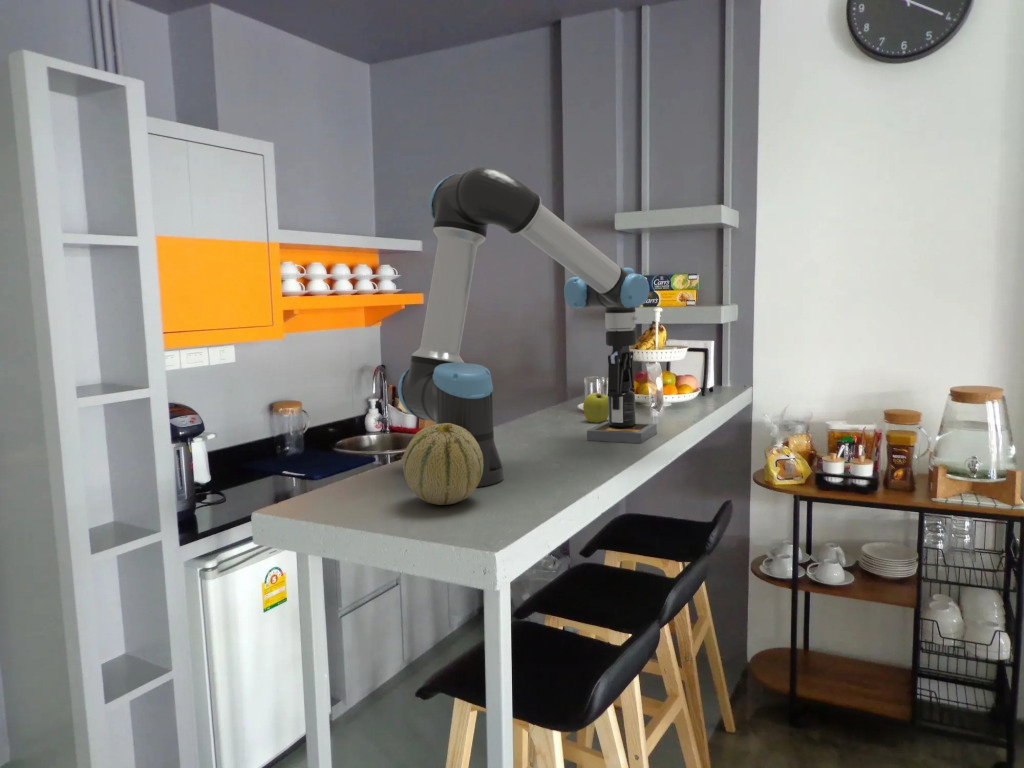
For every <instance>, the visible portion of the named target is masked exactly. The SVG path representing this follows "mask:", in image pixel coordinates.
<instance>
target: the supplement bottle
mask: <svg viewBox="0 0 1024 768" xmlns="http://www.w3.org/2000/svg"><path fill="white" fill-rule="evenodd" d="M630 388H631V382H630V381H628V380H622V391H621V397H623V422H622V423H617V422H612V407H611V397H608V410H609V416H608V422H609V427H610V428H611V429H632V428H634V427H635V426H636V423H637V422H636V420H637V419H636V394H635V392H632V391H630Z"/></svg>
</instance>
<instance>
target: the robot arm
mask: <svg viewBox="0 0 1024 768" xmlns="http://www.w3.org/2000/svg"><path fill="white" fill-rule="evenodd" d="M428 208H429V212H430V213H429V214H430V216H432V219H433V227H432V232H433V233H434V235H435V236H436V237H437V245H436V246H437V247H436V252H435V259H434V264H433V271H432V276H431V283H430V287H429V294H428V300H427V307H426V311H425V317H424V324H423V329H422V335H421V342H420V346H419V348H418V349H417V350H416V351H414V352H413V353H412V354H411V358H410V362H409V363H410V364H409V367H408V368H407V369H406V370H405V371H404V372H403V373H402V375H401V376H400V378H399V381H398V385H397V394H398V398H399V401H400V404H401V406H402V407H403V408H404V410H405V411H407V412H408V413H409V414H410V415H412V416H413V417H415V418H418V419H420V420H422V421H431V422H434V423H435V424H442V423H451V424H454V425H457V426H460V427H462V428H464V429H466V430H467V431H469V432H470V433H471V434H472V435H473V437H474V438H475V440H476V441H477V443H478V444H479V446H480V449H481V451H482V454H483V464H484V466H483V473H482V477H481V480H480V482H479V484H478V486H477V487H476V488H480V487H487V486H490V485H491V486H492V485H494V484H498V483H500V482H502V480H504V478H505V474H504V473H505V472H504V471H505V470H504V465H503V461H502V460H501V456H500V454H499V452H498V448H497V446H496V443H495V436H494V435H495V434H494V432H495V431H494V404H493V401H494V400H493V399H494V398H493V391H494V386H493V380H492V374H491V371H490V370H489V369H488V368H487V367H486V366H484V365H480V364H477V363H472V362H471V363H468V362H465V361H464V360H463V359H462V357H461V356H460V352H461V346H462V340H463V333H464V327H465V324H466V323H465V322H466V317H467V311H468V303H469V299H470V293H471V287H472V280H473V276H474V275H473V273H474V269H475V262H476V255H477V251H478V246H479V247H480V246H481V245H482V244H483V243H484V242H485V241H486V240H487V239H486V238H487V233H488V228H489V227H488V226H489V225H494V226H498V227H501V228H503V229H505V230H506V231H508V233H510V234H512V235H518V234H519V235H521V237H523V238H525V240H528V241H530V242H531V244H533V245H534V246H536V247H537V248H538V249H540V250H541V251H543V253H545V254H547V255H548V256H549V257H551V258H552V259H553V260H555V261H556V262H557V263H558V264H560V265H561V266H563V268H565V269H566V270H568V271H569V272H571V274H573V275H575V276H573V277H570V278H568V280H566V283H565V284H564V288H563V291H564V293H563V294H564V295H563V297H564V300H565V302H566V304H567V305H568V306H569V307H571V308H573V309H585V308H586V309H588V308H593V309H594V308H595V309H596V308H598V309H599V308H604V310H605V314H604V317H605V318H604V320H605V322H604V323H605V327H604V328H605V329H607V331H606V332H605V345H606V346H608V347H612V352H611V354H608V355H607V363H608V373H607V374H608V375H607V376H608V377H607V381H608V382H607V396H608V397H611V407H612V422H617V423H622V422H623V397H621V391H622V380H628V381H630V382H631V388H630V391H632V392H633V393H635V392H636V389H635V373H634V371H635V369H634V356H635V355H634V354H635V353H634V351H633V350H632V351H631V350H630V347H631V346H635V345H636V344H637V333H636V330H635V328H636V321H637V320H638V316H636V308H637V307H638V308H639V307H640V306H642V305H644V304H645V302H647V300H648V298H649V295H650V284H649V282H648V280H647V278H646V277H645V276H644V275H643V274H640V273H635V270H634V269H633V268H631V267H620V266H619V265H618V264H616V262H614V261H613V260H612V259H611V258H609V257H608V256H607V255H606V254H604V253H603V252H601V251H600V250H599V249H598V248H597V247H595V246H594V245H593V244H592V243H590V242H589V241H588V240H586V239H585V237H583V236H581V235H580V233H578V232H577V231H576V230H574V229H573V228H572V227H571V226H569V225H568V224H567V223H565V221H563V220H562V219H561V218H559V217H558V215H556V214H554V213H553V212H552V211H551V210H549V209H548V208H547V207H546V206H544V205H543V203H542V198H541V196H540V195H539V194H538V193H536V192H535V191H534V190H532V189H531V188H530V187H529V186H528V185H526V184H525V183H523V182H522V181H520V180H519V179H518V178H516V177H514V176H513V175H512V174H509V173H508V172H505V171H503V170H501V169H498V168H496V167H491V166H478V167H475V168H472V169H469V170H467V171H463V172H461V173H459V172H458V173H453V174H450V175H448V176H447V177H445V178H443V179H442V180H441V181H438V183H437V184H436V185H435V186H434V188H433V189H432V191H431V194H430V196H429V201H428Z"/></svg>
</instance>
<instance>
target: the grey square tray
mask: <svg viewBox="0 0 1024 768" xmlns="http://www.w3.org/2000/svg"><path fill="white" fill-rule="evenodd" d="M657 430H658V429H657V423H648V422H636V426H635V427H634V428H632V429H611V428H610V427H609V421H608V420H606V421H604V422H600V424H597V425H595V426H593V427H591V428H589V429H588V430H586V438H587V439H586V441H594V442H608V443H609V442H610V443H611V442H612V443H626V444H627V443H628V444H629V443H630V444H642V443H644V442H645V441H648V439H650V438H652V437H653V436H655V435H657V433H658V431H657Z"/></svg>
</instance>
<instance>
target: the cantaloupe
mask: <svg viewBox="0 0 1024 768" xmlns="http://www.w3.org/2000/svg"><path fill="white" fill-rule="evenodd" d="M483 466H484V464H483V454H482V451H481V449H480V446H479V444H478V443H477V441H476V440H475V438H474V437H473V435H472V434H471V433H470V432H469V431H467V430H466V429H464V428H462V427H460V426H457V425H454V424H451V423H442V424H436V423H434V424H433V423H432V424H430V425H428V426H426V427H424V428H422V429H420V430H419V431H417V432H416V433H415V434H414V436H413V437H411V440H410V442H409V443H408V444H407V446H406V449H405V451H404V454H403V460H402V471H403V476H404V479H405V481H406V484H407V486H408V487H409V489H410V490H411V491H412V492H413V494H415V496H416V497H418V499H420V500H421V501H424V502H425V503H429V504H433V505H437V506H445V505H452V504H453V505H454V504H457V503H459V502H461V501H463V500H466V499H467V498H469V497H470V496H471V495H472V494H473V493H474V492H475V490H476V489H477V488H478V487H477V486H478V484H479V482H480V480H481V477H482V473H483Z"/></svg>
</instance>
